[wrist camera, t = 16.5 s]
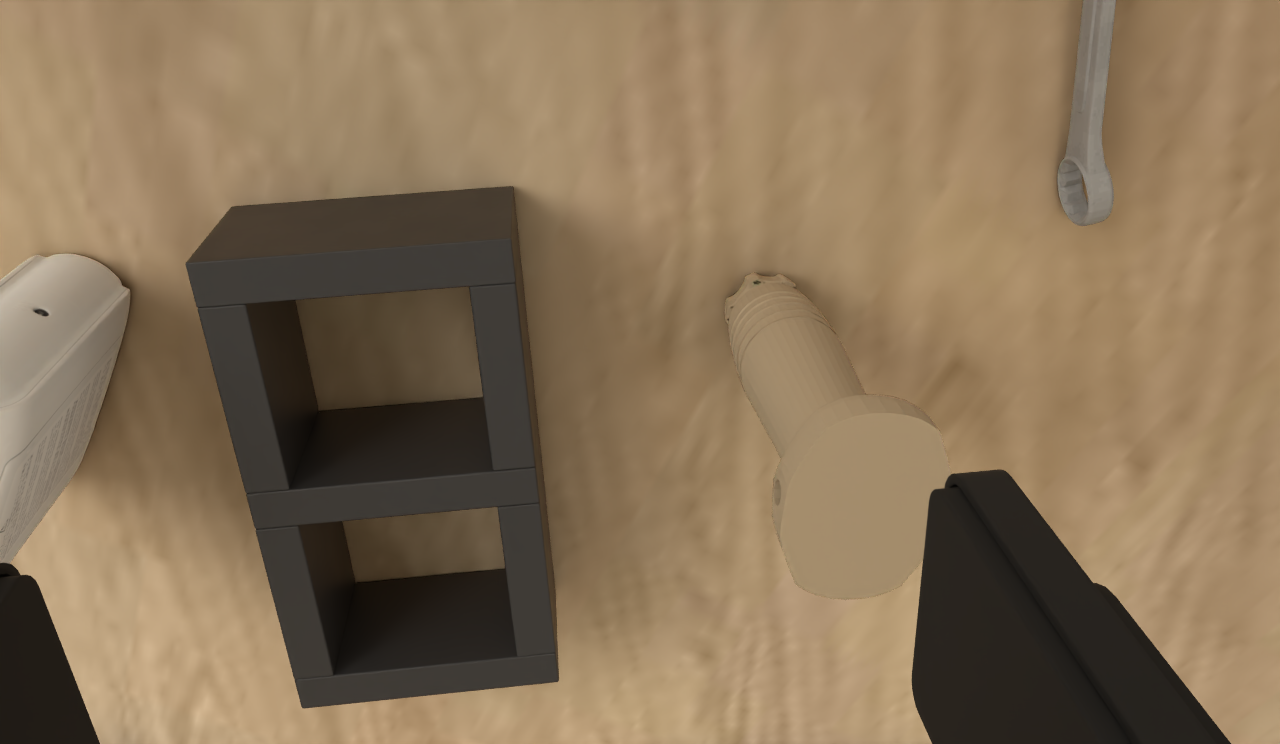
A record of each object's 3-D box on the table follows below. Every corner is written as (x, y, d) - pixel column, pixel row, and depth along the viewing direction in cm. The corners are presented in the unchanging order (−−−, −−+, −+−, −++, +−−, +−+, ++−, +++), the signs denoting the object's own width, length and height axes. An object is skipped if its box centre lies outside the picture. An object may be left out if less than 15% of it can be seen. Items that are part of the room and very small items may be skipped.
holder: (231, 206, 39) (184, 263, 34) (513, 185, 40) (511, 238, 34) (326, 613, 48) (301, 709, 43) (555, 591, 49) (559, 682, 43)
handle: (830, 234, 42) (972, 415, 29) (804, 375, 45) (922, 600, 32) (713, 227, 41) (802, 410, 28) (694, 371, 44) (767, 598, 31)
